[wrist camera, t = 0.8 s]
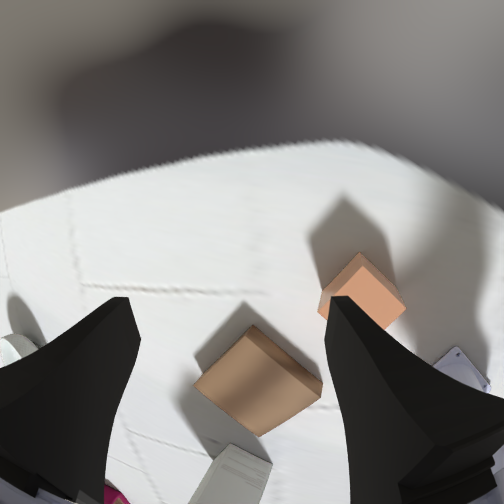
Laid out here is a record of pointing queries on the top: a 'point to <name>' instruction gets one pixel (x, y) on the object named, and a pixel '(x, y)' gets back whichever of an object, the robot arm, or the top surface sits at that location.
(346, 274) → the terracotta cube
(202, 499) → the supplement box
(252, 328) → the walnut slab
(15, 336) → the cereal bowl
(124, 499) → the book
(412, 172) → the top surface
